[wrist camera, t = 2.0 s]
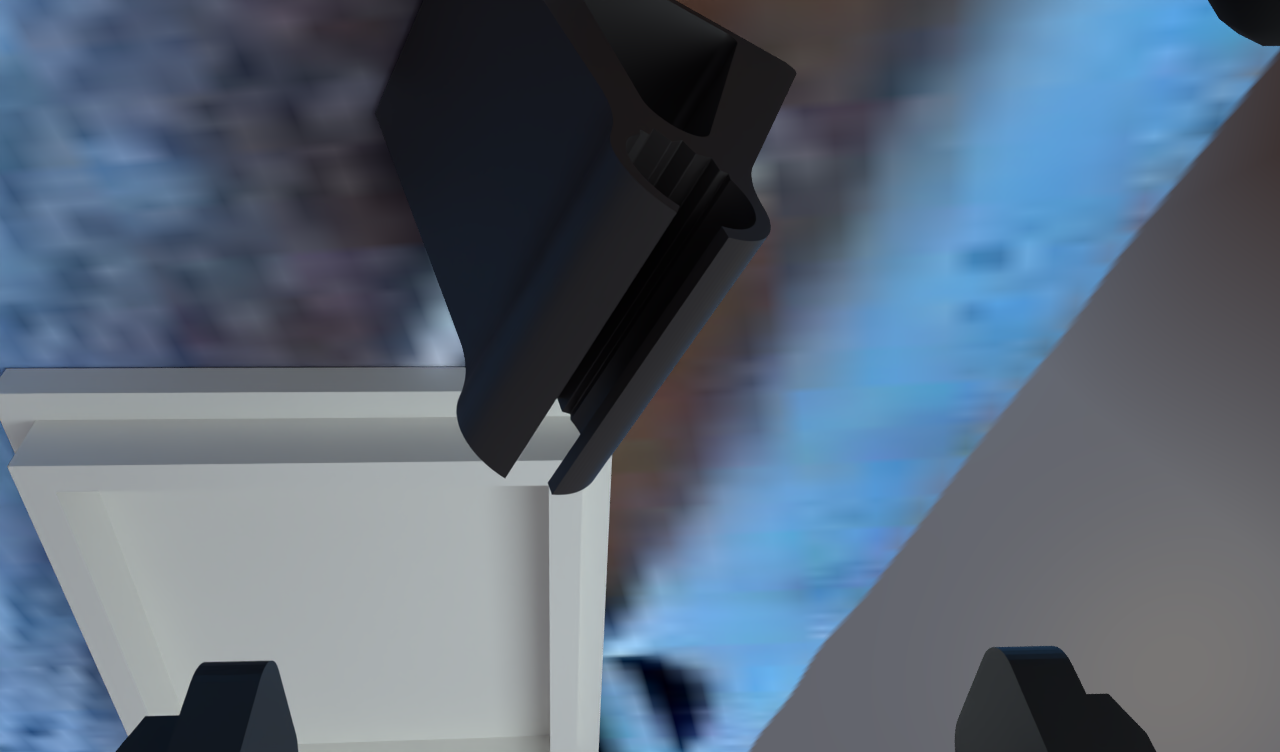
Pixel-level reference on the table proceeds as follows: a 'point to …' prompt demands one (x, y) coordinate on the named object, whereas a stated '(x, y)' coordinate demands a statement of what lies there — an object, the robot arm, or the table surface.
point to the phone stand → (577, 200)
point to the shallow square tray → (319, 550)
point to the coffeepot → (1251, 19)
